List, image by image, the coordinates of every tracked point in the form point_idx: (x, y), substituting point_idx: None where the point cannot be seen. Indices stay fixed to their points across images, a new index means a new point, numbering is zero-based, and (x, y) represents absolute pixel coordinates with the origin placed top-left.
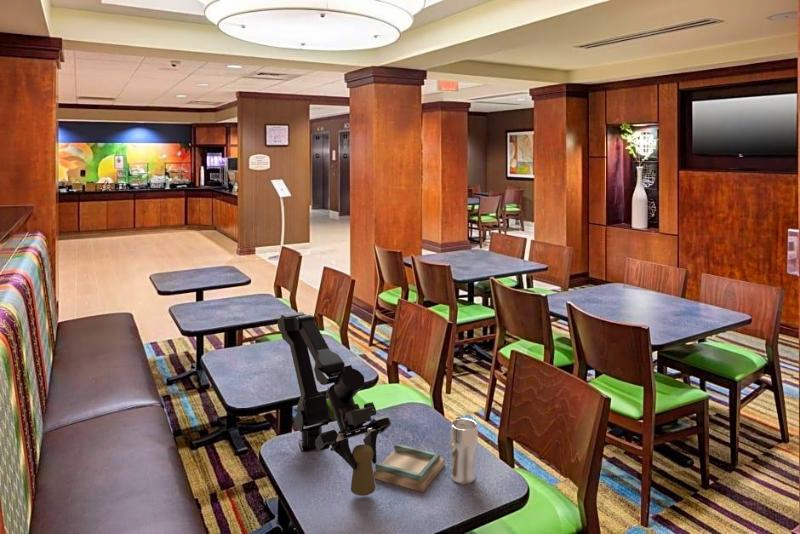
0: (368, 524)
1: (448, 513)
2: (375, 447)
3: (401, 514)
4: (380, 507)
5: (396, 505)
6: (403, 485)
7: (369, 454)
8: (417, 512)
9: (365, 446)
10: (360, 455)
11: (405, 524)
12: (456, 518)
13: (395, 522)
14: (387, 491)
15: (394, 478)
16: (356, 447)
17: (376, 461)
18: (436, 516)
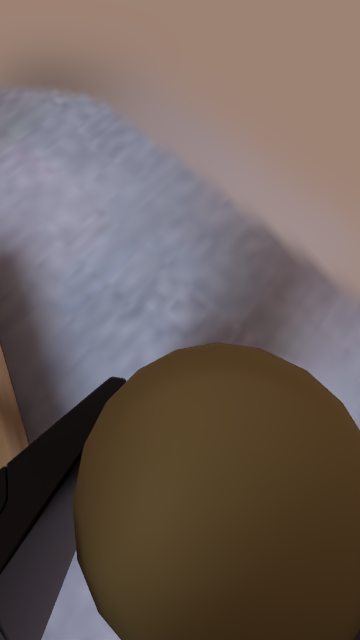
0: (286, 262)
1: (26, 132)
2: (8, 471)
3: (152, 229)
4: (184, 313)
5: (127, 281)
6: (2, 363)
7: (218, 345)
8: (100, 201)
9: (185, 511)
10: (339, 401)
11: (181, 181)
12: (30, 100)
13: (201, 210)
14: (83, 382)
15: (2, 408)
16: (319, 621)
17: (108, 379)
18: (69, 146)
